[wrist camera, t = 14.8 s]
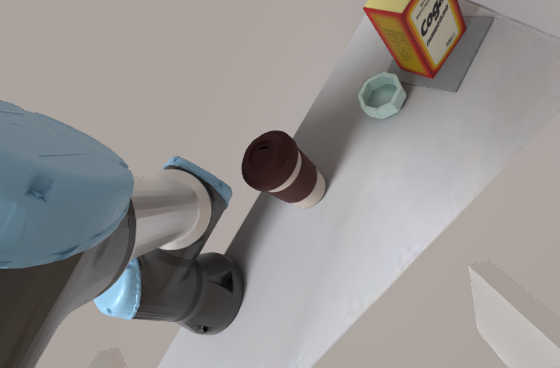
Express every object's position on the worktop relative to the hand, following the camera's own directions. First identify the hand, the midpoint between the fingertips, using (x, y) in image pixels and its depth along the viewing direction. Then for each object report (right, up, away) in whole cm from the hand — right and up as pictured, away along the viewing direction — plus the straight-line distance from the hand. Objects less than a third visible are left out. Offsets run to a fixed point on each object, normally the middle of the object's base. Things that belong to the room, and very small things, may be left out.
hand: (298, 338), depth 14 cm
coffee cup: (+5, +4, +56) cm, 56 cm away
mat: (+25, +28, +51) cm, 63 cm away
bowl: (+18, +20, +53) cm, 59 cm away
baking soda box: (+25, +28, +51) cm, 63 cm away
